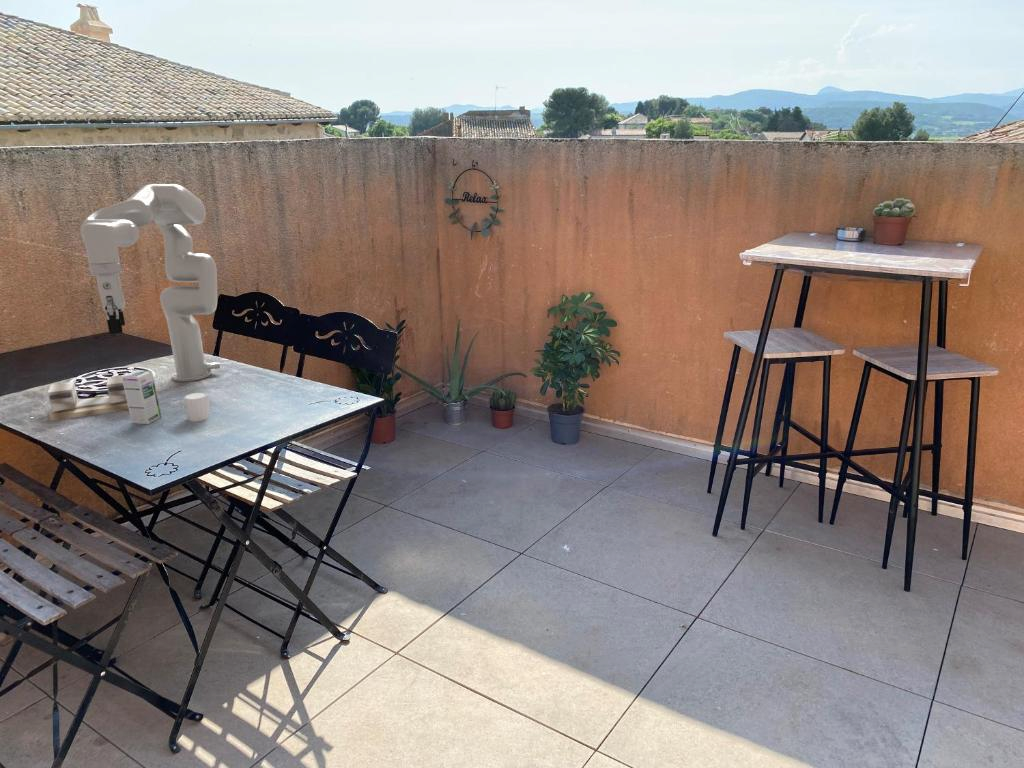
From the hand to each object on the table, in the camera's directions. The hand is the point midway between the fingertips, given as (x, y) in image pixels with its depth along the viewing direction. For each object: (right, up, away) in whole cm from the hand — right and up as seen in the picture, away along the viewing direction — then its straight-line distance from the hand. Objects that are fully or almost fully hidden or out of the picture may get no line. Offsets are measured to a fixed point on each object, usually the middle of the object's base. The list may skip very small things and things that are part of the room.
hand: (117, 329), depth 191 cm
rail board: (-17, -23, +17) cm, 33 cm away
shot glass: (+19, -26, +9) cm, 33 cm away
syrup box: (+4, -26, +8) cm, 28 cm away
